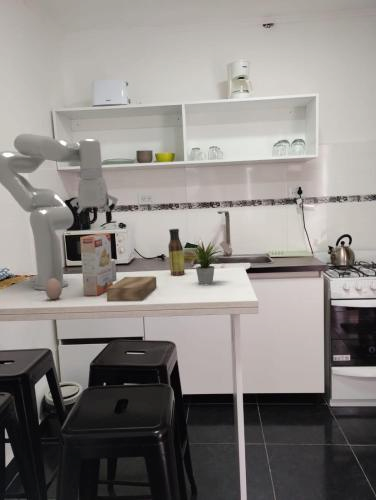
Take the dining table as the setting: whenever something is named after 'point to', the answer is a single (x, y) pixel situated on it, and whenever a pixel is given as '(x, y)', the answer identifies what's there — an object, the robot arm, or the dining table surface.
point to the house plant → (205, 264)
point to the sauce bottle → (176, 253)
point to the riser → (131, 289)
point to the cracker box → (96, 264)
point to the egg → (53, 289)
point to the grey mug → (113, 270)
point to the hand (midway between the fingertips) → (95, 223)
